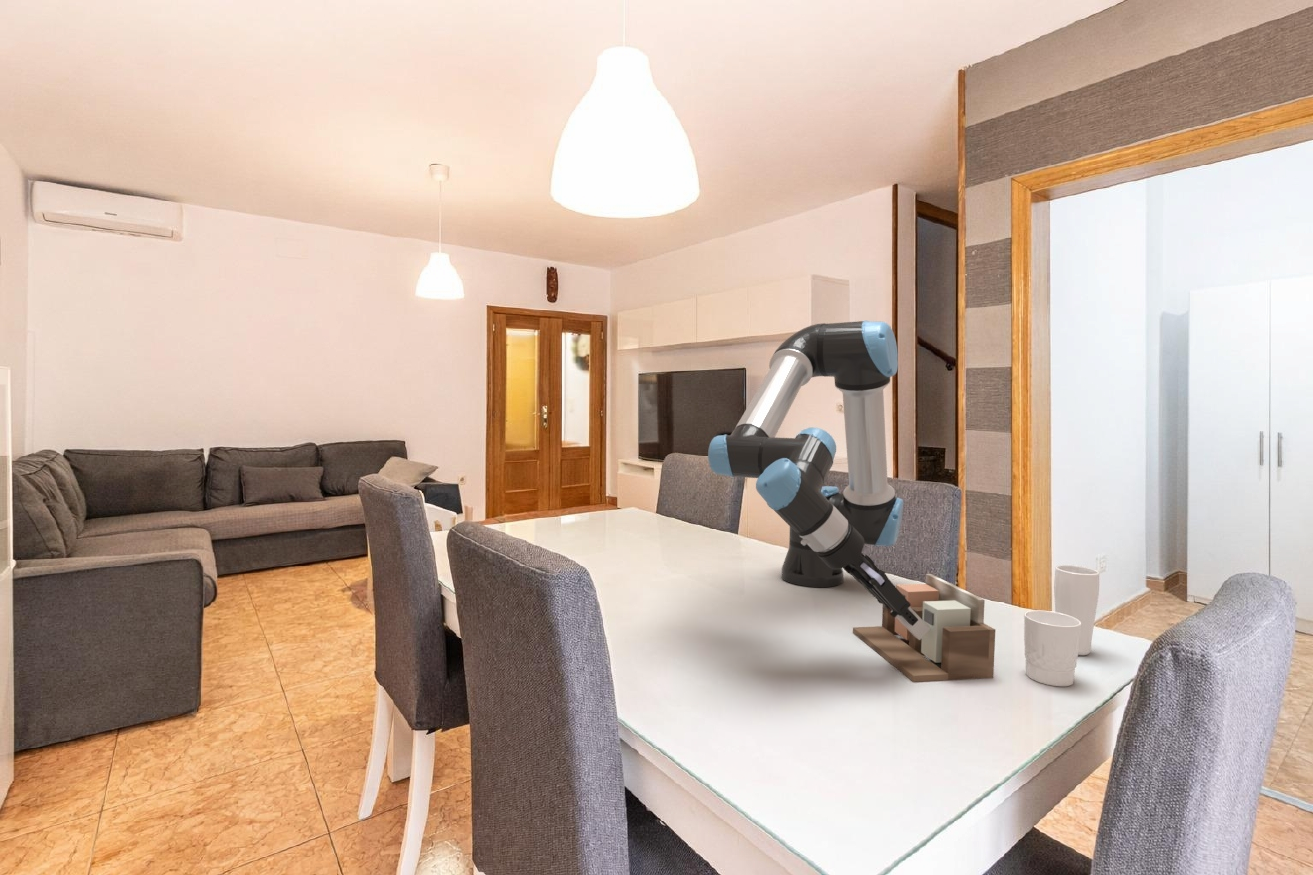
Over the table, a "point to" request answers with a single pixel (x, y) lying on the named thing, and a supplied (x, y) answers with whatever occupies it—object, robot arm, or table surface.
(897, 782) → the table surface
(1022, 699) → the table surface
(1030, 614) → the white cup
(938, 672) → the wooden rack
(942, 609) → the cream rectangular block
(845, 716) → the table surface
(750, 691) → the table surface
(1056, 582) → the drinking glass
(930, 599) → the peach rectangular block
